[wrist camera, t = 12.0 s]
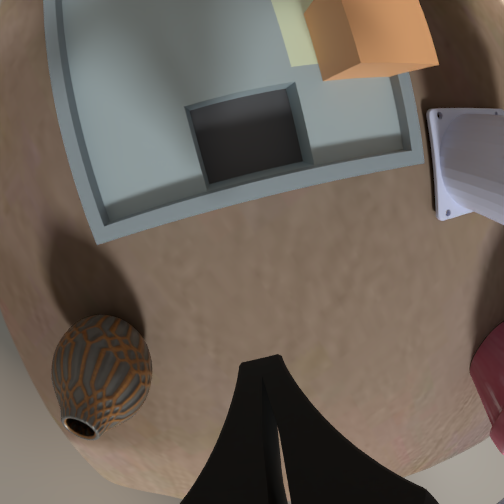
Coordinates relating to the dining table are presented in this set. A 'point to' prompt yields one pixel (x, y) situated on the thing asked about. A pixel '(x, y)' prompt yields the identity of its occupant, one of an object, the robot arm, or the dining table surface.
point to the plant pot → (491, 381)
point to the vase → (100, 375)
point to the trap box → (209, 108)
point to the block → (369, 38)
